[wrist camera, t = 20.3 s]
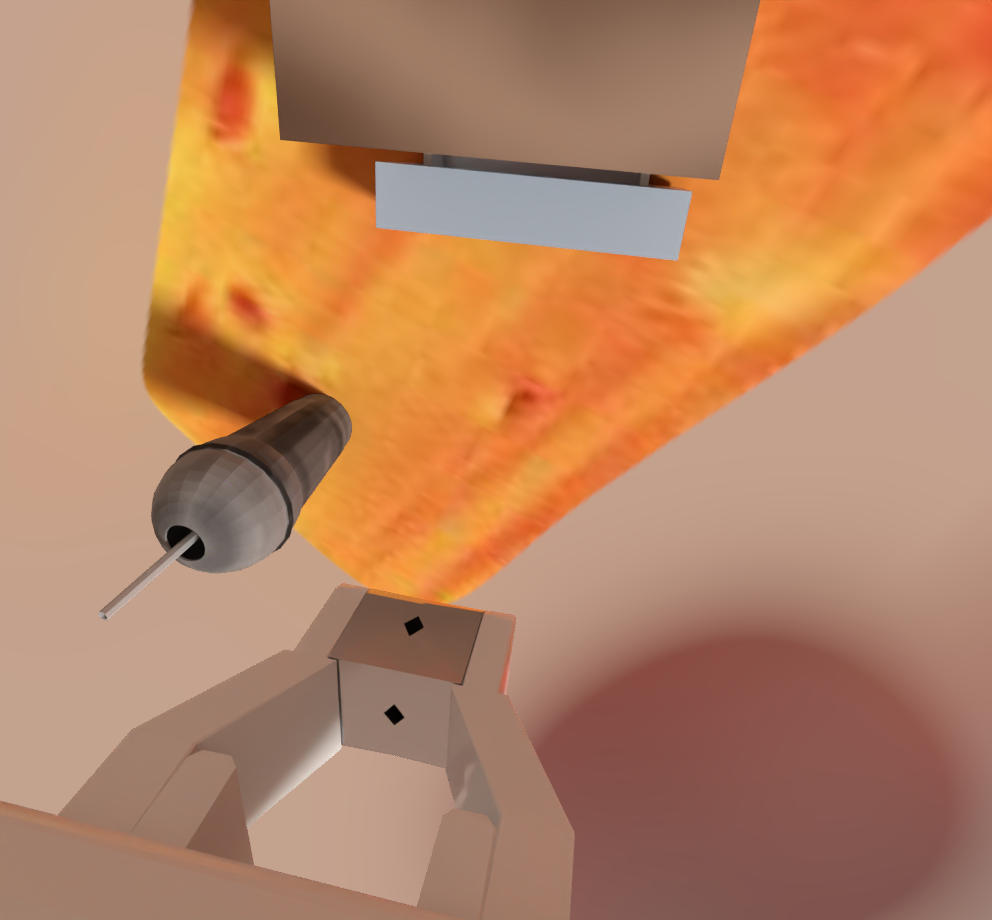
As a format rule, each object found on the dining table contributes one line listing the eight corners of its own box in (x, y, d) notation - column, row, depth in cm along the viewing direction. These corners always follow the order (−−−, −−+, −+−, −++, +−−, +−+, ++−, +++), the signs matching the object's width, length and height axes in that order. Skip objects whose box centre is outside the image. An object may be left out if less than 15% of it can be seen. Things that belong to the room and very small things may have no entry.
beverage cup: (390, 431, 42) (227, 624, 24) (327, 485, 45) (142, 691, 27) (316, 353, 40) (83, 499, 23) (256, 414, 43) (9, 585, 26)
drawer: (413, -94, 28) (371, -148, 23) (735, -82, 26) (762, -137, 22) (409, 219, 35) (376, 227, 30) (668, 246, 33) (677, 260, 28)
